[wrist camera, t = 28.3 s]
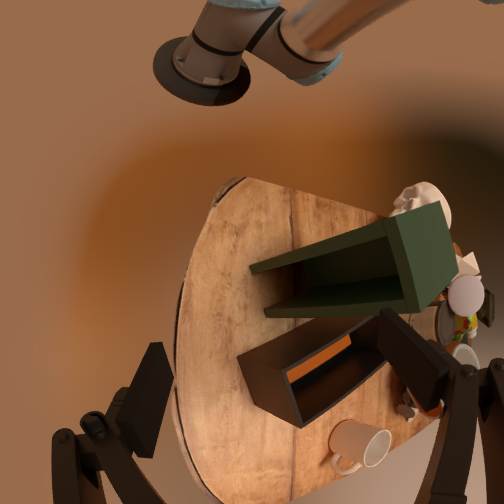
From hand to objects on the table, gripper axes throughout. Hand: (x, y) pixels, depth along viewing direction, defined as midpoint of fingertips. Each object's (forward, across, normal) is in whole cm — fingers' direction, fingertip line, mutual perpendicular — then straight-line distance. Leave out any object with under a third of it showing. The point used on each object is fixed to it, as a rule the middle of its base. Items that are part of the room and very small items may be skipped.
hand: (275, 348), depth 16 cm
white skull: (+46, +32, -9) cm, 57 cm away
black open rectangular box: (+28, +6, -21) cm, 35 cm away
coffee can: (+40, +33, -28) cm, 59 cm away
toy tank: (+53, +83, -35) cm, 105 cm away
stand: (+32, +5, -8) cm, 34 cm away
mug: (+22, +12, -43) cm, 50 cm away
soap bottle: (+27, +43, -17) cm, 54 cm away
